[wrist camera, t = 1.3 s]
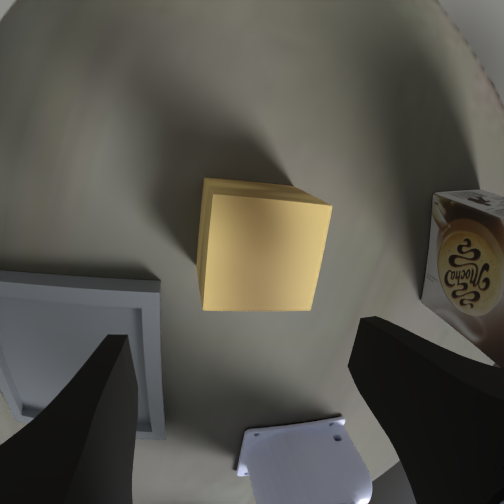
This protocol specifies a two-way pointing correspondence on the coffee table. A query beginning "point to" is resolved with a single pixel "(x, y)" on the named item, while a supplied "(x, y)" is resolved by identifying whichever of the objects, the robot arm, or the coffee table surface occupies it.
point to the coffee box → (468, 267)
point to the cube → (259, 246)
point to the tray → (77, 338)
